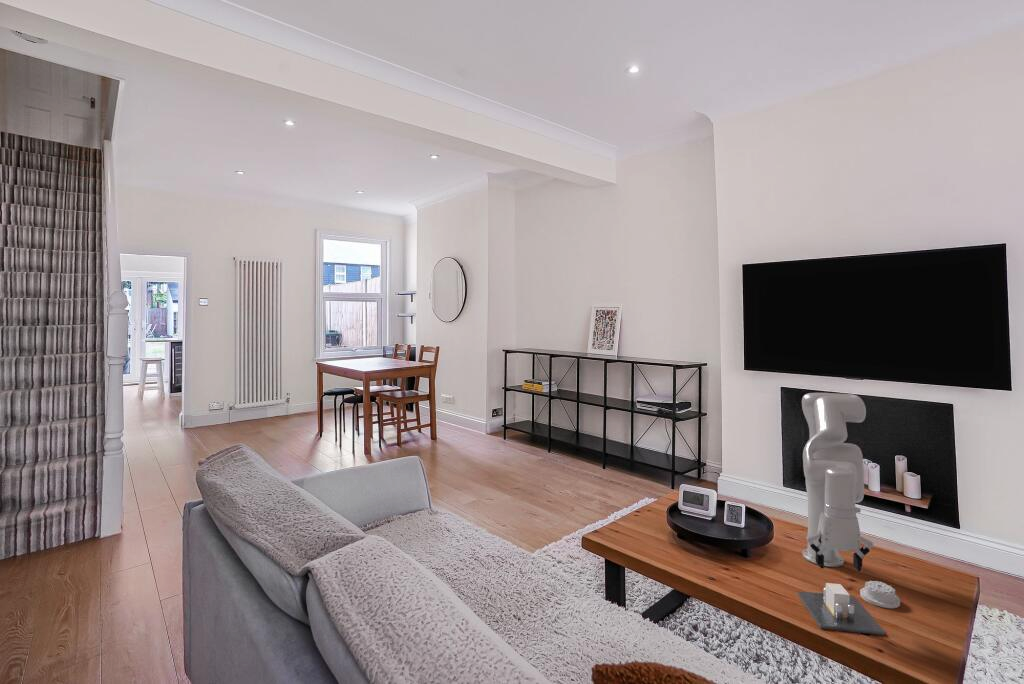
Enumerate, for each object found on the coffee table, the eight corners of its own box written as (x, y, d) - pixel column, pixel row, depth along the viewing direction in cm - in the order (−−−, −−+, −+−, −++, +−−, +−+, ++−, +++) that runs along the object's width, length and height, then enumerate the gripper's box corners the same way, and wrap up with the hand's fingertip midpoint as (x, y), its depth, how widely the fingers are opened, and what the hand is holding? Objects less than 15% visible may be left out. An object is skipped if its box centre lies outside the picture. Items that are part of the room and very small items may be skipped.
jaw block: (825, 602, 151) (825, 582, 151) (840, 603, 150) (840, 584, 150) (833, 613, 145) (834, 593, 145) (849, 615, 144) (849, 594, 144)
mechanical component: (900, 598, 155) (861, 588, 161) (900, 584, 155) (861, 574, 161) (899, 613, 147) (858, 601, 154) (900, 598, 147) (858, 587, 153)
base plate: (797, 594, 158) (797, 578, 157) (854, 599, 154) (854, 583, 154) (820, 628, 140) (820, 611, 140) (884, 635, 137) (885, 617, 136)
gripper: (866, 507, 148) (865, 563, 149) (802, 504, 151) (801, 558, 153) (879, 517, 141) (878, 576, 142) (811, 514, 144) (811, 571, 145)
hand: (838, 567), depth 147 cm, fingers open, 9 cm apart
